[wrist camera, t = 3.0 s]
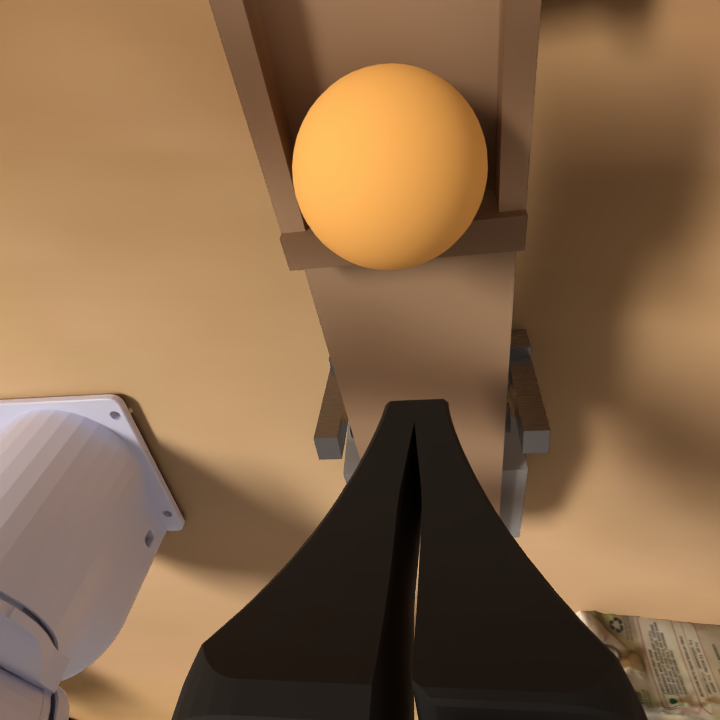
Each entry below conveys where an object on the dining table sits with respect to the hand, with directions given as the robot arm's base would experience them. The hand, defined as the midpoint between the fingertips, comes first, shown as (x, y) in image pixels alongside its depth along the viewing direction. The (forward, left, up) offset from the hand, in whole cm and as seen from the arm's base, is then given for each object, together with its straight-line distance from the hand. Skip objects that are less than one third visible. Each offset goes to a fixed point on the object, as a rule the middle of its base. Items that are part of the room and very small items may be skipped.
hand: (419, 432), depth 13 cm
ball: (+6, 0, 0) cm, 6 cm away
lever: (-1, 0, -6) cm, 6 cm away
